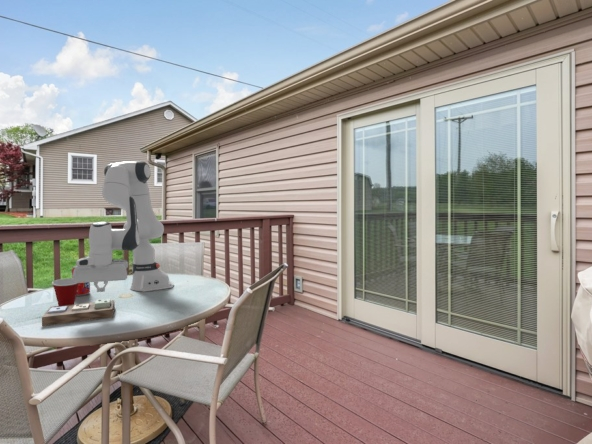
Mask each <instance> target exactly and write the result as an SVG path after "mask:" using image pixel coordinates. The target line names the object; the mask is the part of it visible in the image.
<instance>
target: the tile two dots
mask: <svg viewBox="0 0 592 444" xmlns="http://www.w3.org/2000/svg"><path fill="white" fill-rule="evenodd" d="M111 301H112V299H111V298H106V299H95V301H94V302H95V308H104V307H110V306H111Z"/></svg>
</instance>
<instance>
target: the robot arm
mask: <svg viewBox="0 0 592 444" xmlns="http://www.w3.org/2000/svg"><path fill="white" fill-rule="evenodd" d="M103 173H104V179H103V185H102V191H101V192H102V193H101V194H102V195H101V196H102V197H103V199H104V201H106V203H108V204H110V205H111V206H114V207H116V208H119V209H121V210H124V211H125V216H126V221H125V222H124V223H123V224H124V225H123V227H122V228H112V224H111V222H108V221H96V222H93V223H91V224H90V228H89V233H88V234H89V235H88V245H89V250H88V255H87V256H84V257H81V258H79V259H77V260H76V261H75V266H76V267H75V269H74V272H73V282H74V283H87V282H90V283H93V286H94V287H95V288H96V293H103V292H106V286H108V284H109V282H117V281H126V280H127V278H128V270H127V269H128V268H129V262H128V260H127V259H124V258H119V259H118V258H113V252H114V251H128V252H129V251H130V252H132V265H131V272H132V279H131V280H132V281H131V285H130V290H132V291H137V292H138V291H139V292H143V293H144V292H151V291H158V290H159V291H160V290H167V289H172V288H173V287H174V282H173V281H170V277H169V275H168V274H167V273H166V272H165V271H163V270H161V269H160V267H161V265H160V263H158V262H156V261H155V260H156V259H155V248H154V246H153V245H152V244H151V242H150V240H155V239H159V238H160V237H162V236H163V234H164V232H165V226H164V224H163V223H162V222H161V221H160V220H159V219H158V218H157V216H156V213H155V211H154V209H153V207H152V202H151V201H152V200H151V196H150V189H149V185H148V182H147V181H148V180H149V179H150V177H151V168H150V165H149V164H148V163H147V162H145V161H142V160H141V161H140V160H139V161H135V160H133V161H132V160H131V161H127V160H126V161H121V162H120V161H119V162H113V163H109V164H107V165H106V166H105V167H104V171H103ZM99 282H100V283H101V282H103V284H104V285H103V286H99V285H98V284H99Z"/></svg>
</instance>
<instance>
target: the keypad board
mask: <svg viewBox="0 0 592 444" xmlns="http://www.w3.org/2000/svg"><path fill="white" fill-rule="evenodd" d="M95 302H96V301H94V302H83V303H75V304H73V305H63V306H67V310H66V312H59V313H50V314H48V311H49V310H50V309H51V308H53V307H62V306H58V305H56V306H50V307H49V308H48V309H47V310H46V311H45V313H44V314H43V315H42V316H41V326H42V327H46V326H54V324H55V325H61V324H62V325H63V324H71V323H77V322H79V323H80V322H85V321H86V322H87V321H94V320H102V319H109V318H111V319H112V318H113V317H114V312H115V308H116V307H115V300H114V299H113V300H112V299H111V306H110V307H104V308H95ZM82 304H90V307H89V309H86V310H77V311H72V308H73V307H74V305H82ZM45 325H46V326H45Z"/></svg>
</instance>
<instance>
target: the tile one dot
mask: <svg viewBox="0 0 592 444" xmlns="http://www.w3.org/2000/svg"><path fill="white" fill-rule="evenodd" d="M52 307H53V306H52ZM66 310H67V306H62V307H53V308H51V309H50V310H49V311H48V314H50V313H59V312H66Z"/></svg>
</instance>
